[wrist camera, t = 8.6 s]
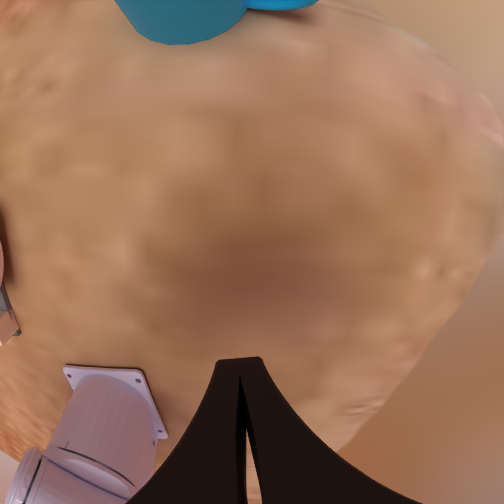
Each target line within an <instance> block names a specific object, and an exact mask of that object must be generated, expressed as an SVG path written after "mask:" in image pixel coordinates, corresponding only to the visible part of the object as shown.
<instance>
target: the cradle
mask: <svg viewBox="0 0 504 504" xmlns="http://www.w3.org/2000/svg"><path fill="white" fill-rule="evenodd" d="M20 334H21V331H20V329H19V326H18V324H17V321H16V319H15V316H14V313H13V311H12V308H11V305H10V303H9V300H8V297H7V294H6V291H5V288H4V284H3V281H2V283H1V287H0V345H1V346H3V345H4V344H5V343H6V342H7V341H8V340H9V339H10V337H11V336H19V335H20Z"/></svg>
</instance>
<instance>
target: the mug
mask: <svg viewBox="0 0 504 504" xmlns="http://www.w3.org/2000/svg"><path fill="white" fill-rule="evenodd" d="M114 1H115V2H116V3H117V5H118V6H119V7H120V9H121V10H122V11H123V13H124V14H125V15H126V17H127V18H128V19H129V21H130V22H131V24H132V25H133V26H134V28H135V29H136V30H137V32H138V33H140V34H141V35H143V36H145V37H146V38H148V39H149V40H151V41H155V42H160V43H164V44H168V45H172V44H191V43H195V42H200V41H204V40H209V39H211V38H213V37H215V36H217V35H219V34H221V33H223V32H225V31H227V30H228V29H230V28H231V27H232V26H233V25H234V24H236V23H237V22H238V21H239V20H240V19H241V18H242V16H243V15H244V13H245V12H246V10H247V8H252V9H262V10H275V11H278V10H297V9H300V8H304V7H308V6H312V5H313V4H315V3H316V2H317V1H318V0H114Z"/></svg>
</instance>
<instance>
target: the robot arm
mask: <svg viewBox="0 0 504 504" xmlns="http://www.w3.org/2000/svg"><path fill="white" fill-rule="evenodd" d="M63 372H64V374H65V376H66V378H67V379H68V381H69V383H70V385H71V387H72V389H73V391H74V392H73V394H72V396H71V398H70V400H69V402H68V404H67V406H66V408H65V410H64V412H63V414H62V416H61V418H60V420H59V422H58V424H57V426H56V429H55V431H54V433H53V435H52V437H51V439H50V442H49V444H48V446H47V447H46V449H45V450H44V452H43V454H42V450H40V449H39V448H37V447H34V448H29V449H26V451H25V453H24V455H23V457H22V459H21V462H20V464H19V466H18V468H17V471H16V473H15V475H14V478H13V480H12V483H11V485H10V488H9V491H8V493H7V496H6V499H5V504H248V501H247V489H246V428H247V433H248V437H249V442H250V446H251V451H252V455H253V460H254V464H255V468H256V472H257V477H258V481H259V485H260V491H261V497H262V504H422V503H419V502H417V501H414V500H412V499H410V498H407V497H405V496H403V495H401V494H399V493H397V492H395V491H393V490H391V489H389V488H387V487H385V486H383V485H381V484H380V483H378V482H376V481H375V480H373V479H371V478H370V477H368V476H367V475H365V474H364V473H362V472H361V471H359V470H358V469H357V468H355V467H354V466H352V465H351V464H349V463H348V462H347V461H345V460H344V459H343V458H341V457H340V456H339V455H338V454H337V453H335V452H334V451H333V450H332V449H331V448H329V447H328V446H327V445H326V444H325V443H324V442H323V441H322V440H321V439H320V438H319V437H318V436H317V435H316V434H315V433H314V432H313V431H312V430H311V429H310V428H309V427H308V426H307V425H306V424H305V423H304V422H303V420H302V419H301V418H300V417H299V416H298V415H297V414H296V412H295V411H294V410H293V409H292V407H291V406H290V405H289V403H288V402H287V401H286V399H285V398H284V397H283V395H282V394H281V392H280V391H279V389H278V388H277V386H276V385H275V383H274V382H273V380H272V378H271V377H270V375H269V373H268V371H267V369H266V367H265V365H264V363H263V360H262V359H261V358H260V357H259V356H258V357H247V358H236V359H223V360H218V361H217V362H216V364H215V369H214V372H213V375H212V378H211V380H210V383H209V385H208V388H207V390H206V393H205V395H204V397H203V399H202V401H201V403H200V405H199V408H198V410H197V412H196V413H195V415H194V417H193V419H192V421H191V422H190V424H189V426H188V428H187V429H186V431H185V433H184V434H183V436H182V438H181V439H180V441H179V442H178V444H177V445H176V447H175V448H174V449H173V451H172V452H171V454H170V455H169V456H168V458H167V459H166V460H165V462H164V463H163V464H162V465H161V466H160V468H159V469H158V470H157V471H156V473H155V474H154V475H153V470H154V464H155V457H156V451H157V445H158V439H167V438H168V433H167V431H166V429H165V427H164V424H163V422H162V420H161V417H160V415H159V413H158V410H157V408H156V406H155V403H154V401H153V398H152V396H151V393H150V391H149V388H148V386H147V383H146V380H145V378H144V375H143V373H142V372H141V371H140V370H137V369H114V368H95V367H82V366H71V365H65V366H64V367H63ZM138 379H140V380H138ZM41 454H42V455H41Z"/></svg>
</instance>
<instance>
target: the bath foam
mask: <svg viewBox="0 0 504 504" xmlns="http://www.w3.org/2000/svg"><path fill="white" fill-rule="evenodd" d="M3 270H4V258H3V250H2V245H1V241H0V287H1V283H2V278H3Z"/></svg>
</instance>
